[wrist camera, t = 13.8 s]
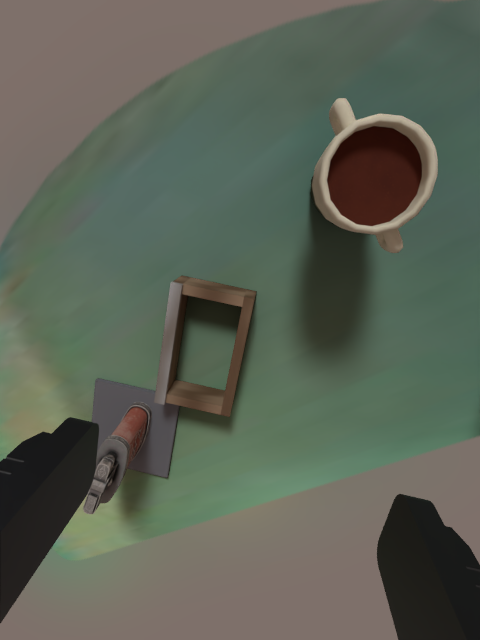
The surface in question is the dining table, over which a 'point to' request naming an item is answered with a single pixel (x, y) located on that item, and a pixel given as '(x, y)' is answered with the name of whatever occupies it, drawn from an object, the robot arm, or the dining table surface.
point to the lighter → (118, 455)
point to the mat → (161, 434)
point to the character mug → (374, 174)
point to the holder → (176, 309)
